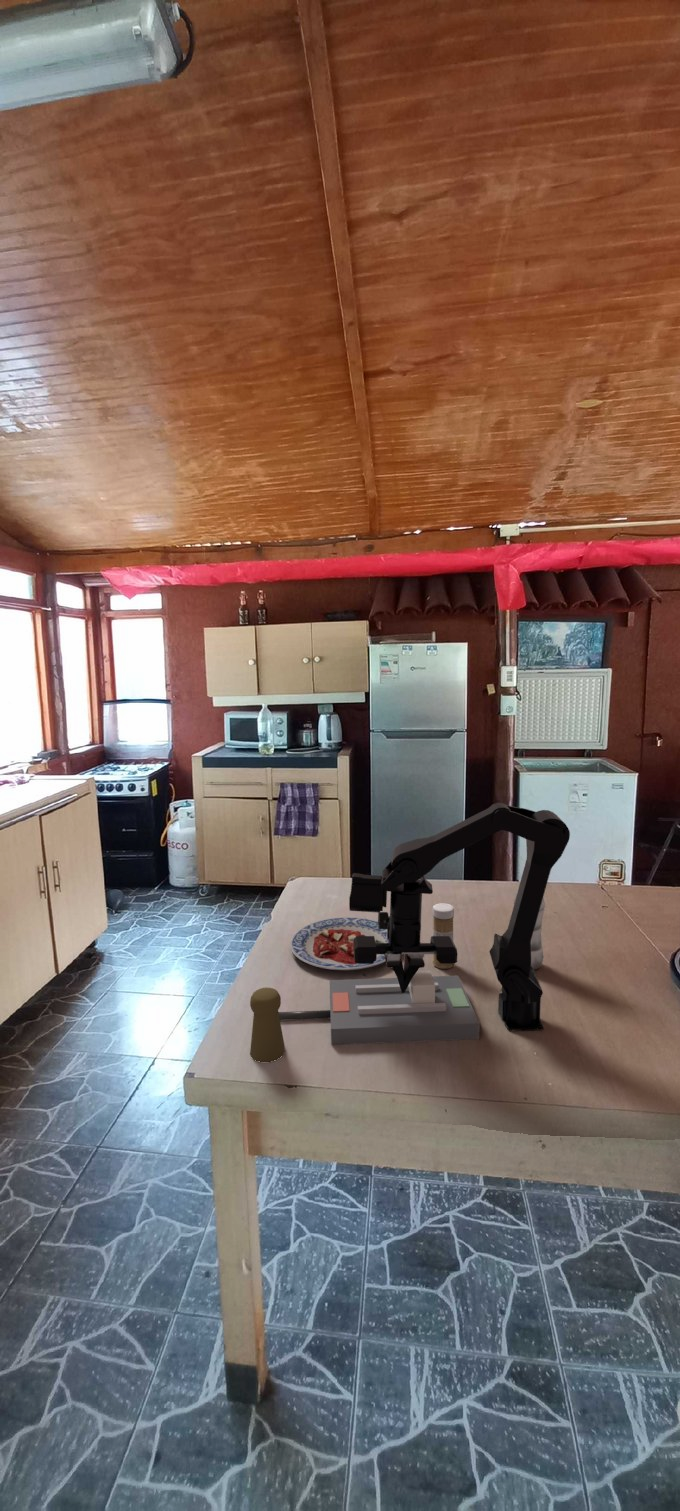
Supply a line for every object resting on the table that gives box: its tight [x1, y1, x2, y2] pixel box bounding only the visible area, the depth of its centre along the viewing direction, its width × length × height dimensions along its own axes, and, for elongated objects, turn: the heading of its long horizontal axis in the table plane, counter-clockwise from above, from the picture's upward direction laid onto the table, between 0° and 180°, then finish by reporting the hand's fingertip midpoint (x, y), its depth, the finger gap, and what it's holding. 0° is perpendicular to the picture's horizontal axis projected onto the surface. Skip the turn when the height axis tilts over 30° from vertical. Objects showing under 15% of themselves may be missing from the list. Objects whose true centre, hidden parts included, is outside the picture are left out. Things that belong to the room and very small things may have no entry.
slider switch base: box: [278, 975, 480, 1046], centre depth 110 cm, size 36×16×4 cm, turn 92°
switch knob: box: [409, 970, 435, 1004], centre depth 110 cm, size 4×5×4 cm
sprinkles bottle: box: [432, 902, 455, 970], centre depth 128 cm, size 5×5×14 cm
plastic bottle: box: [513, 876, 546, 971], centre depth 126 cm, size 6×7×20 cm
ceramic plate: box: [289, 916, 389, 971], centre depth 137 cm, size 26×26×3 cm
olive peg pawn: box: [249, 987, 286, 1063], centre depth 100 cm, size 6×6×11 cm
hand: (402, 991), depth 110 cm, fingers closed
